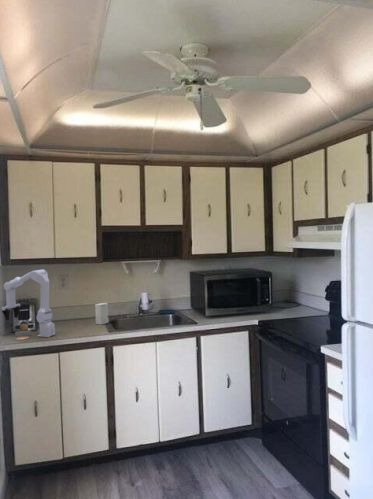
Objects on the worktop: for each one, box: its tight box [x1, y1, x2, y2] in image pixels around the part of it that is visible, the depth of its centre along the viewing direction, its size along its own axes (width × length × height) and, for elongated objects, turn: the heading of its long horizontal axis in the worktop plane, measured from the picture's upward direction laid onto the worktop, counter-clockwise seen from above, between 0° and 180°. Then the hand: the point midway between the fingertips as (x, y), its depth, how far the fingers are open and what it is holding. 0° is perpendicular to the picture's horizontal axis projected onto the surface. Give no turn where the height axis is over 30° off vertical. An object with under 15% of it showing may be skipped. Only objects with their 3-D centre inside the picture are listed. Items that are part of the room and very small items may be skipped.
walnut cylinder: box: [19, 323, 29, 332], centre depth 278 cm, size 5×5×6 cm
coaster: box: [15, 335, 30, 341], centre depth 265 cm, size 8×8×1 cm
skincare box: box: [94, 302, 109, 325], centre depth 303 cm, size 8×6×15 cm
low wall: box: [14, 330, 32, 338], centre depth 271 cm, size 10×1×3 cm, turn 108°
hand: (11, 318), depth 279 cm, fingers open, 7 cm apart
